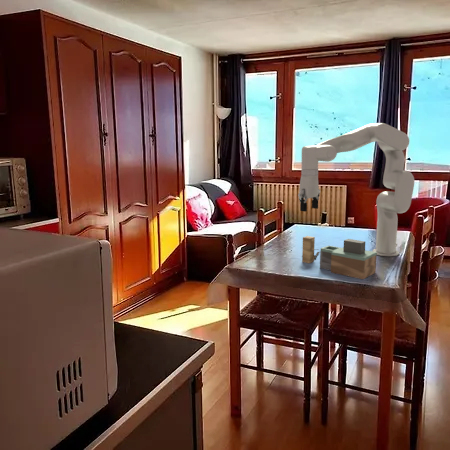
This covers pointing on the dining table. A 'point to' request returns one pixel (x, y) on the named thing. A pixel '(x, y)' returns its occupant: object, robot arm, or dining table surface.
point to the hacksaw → (316, 254)
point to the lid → (351, 250)
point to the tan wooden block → (308, 249)
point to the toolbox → (348, 265)
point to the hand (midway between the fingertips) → (309, 209)
